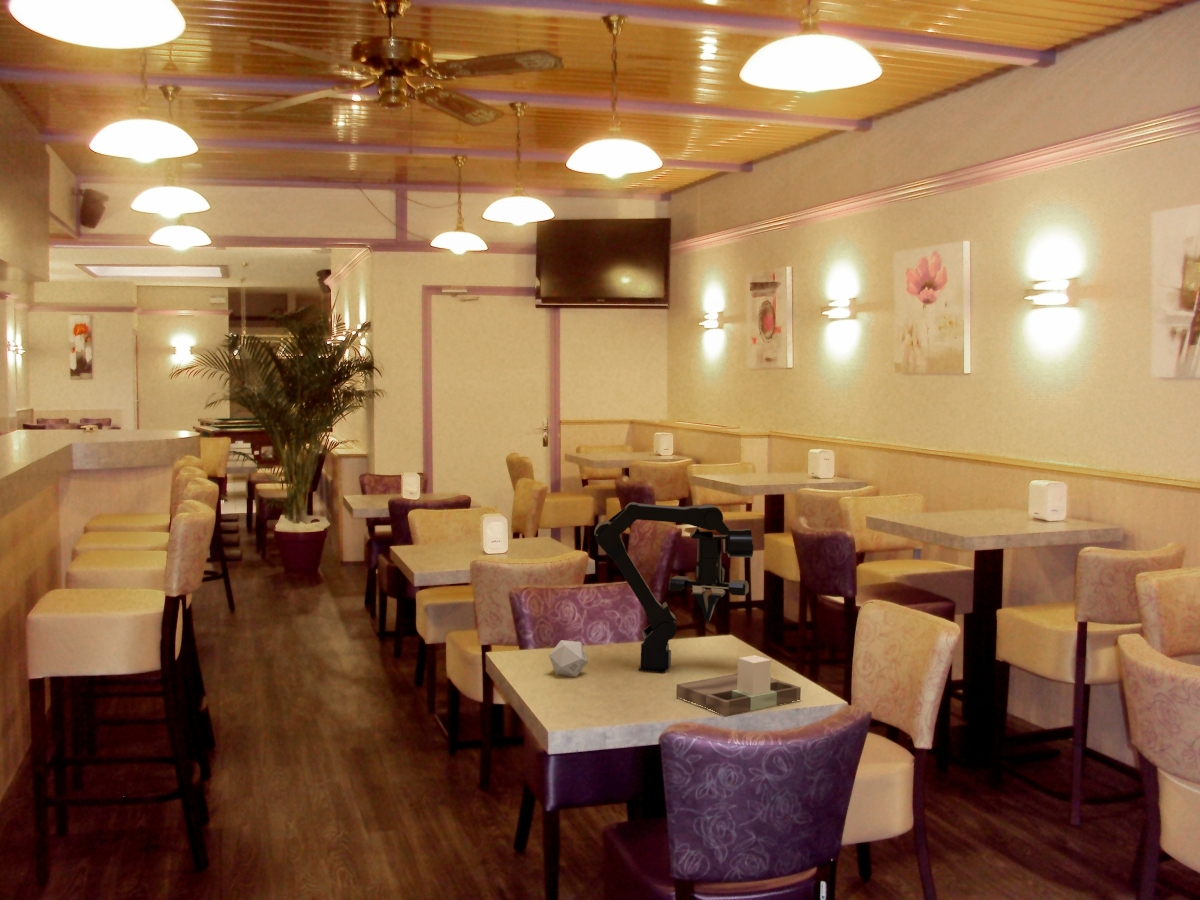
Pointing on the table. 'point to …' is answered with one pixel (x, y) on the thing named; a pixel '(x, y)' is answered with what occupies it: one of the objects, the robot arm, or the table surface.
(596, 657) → the table surface
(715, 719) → the table surface
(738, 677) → the block
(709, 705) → the brown compartment tray
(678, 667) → the table surface
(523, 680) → the table surface
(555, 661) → the die
